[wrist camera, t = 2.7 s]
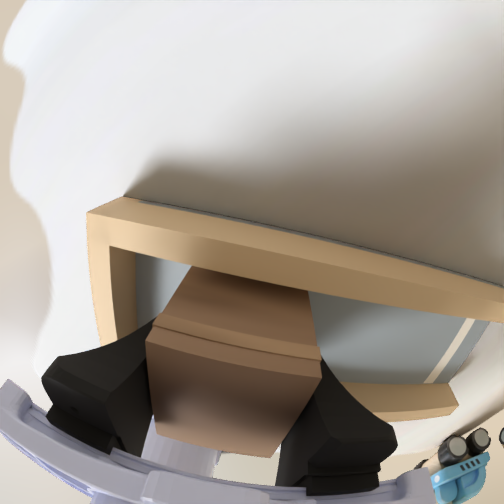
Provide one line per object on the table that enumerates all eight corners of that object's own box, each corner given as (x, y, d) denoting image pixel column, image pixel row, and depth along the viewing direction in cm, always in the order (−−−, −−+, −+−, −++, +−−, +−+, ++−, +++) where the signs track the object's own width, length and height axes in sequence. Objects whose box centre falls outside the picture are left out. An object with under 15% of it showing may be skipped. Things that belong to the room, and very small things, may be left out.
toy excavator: (403, 445, 20) (424, 569, 4) (488, 422, 20) (519, 508, 4) (369, 473, 23) (378, 575, 8) (455, 453, 23) (475, 532, 7)
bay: (437, 388, 16) (449, 415, 13) (127, 343, 16) (107, 373, 13) (502, 286, 12) (526, 308, 9) (121, 196, 12) (86, 212, 9)
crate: (275, 367, 15) (270, 458, 9) (188, 349, 15) (155, 434, 9) (306, 277, 12) (324, 376, 7) (197, 253, 12) (143, 338, 7)
